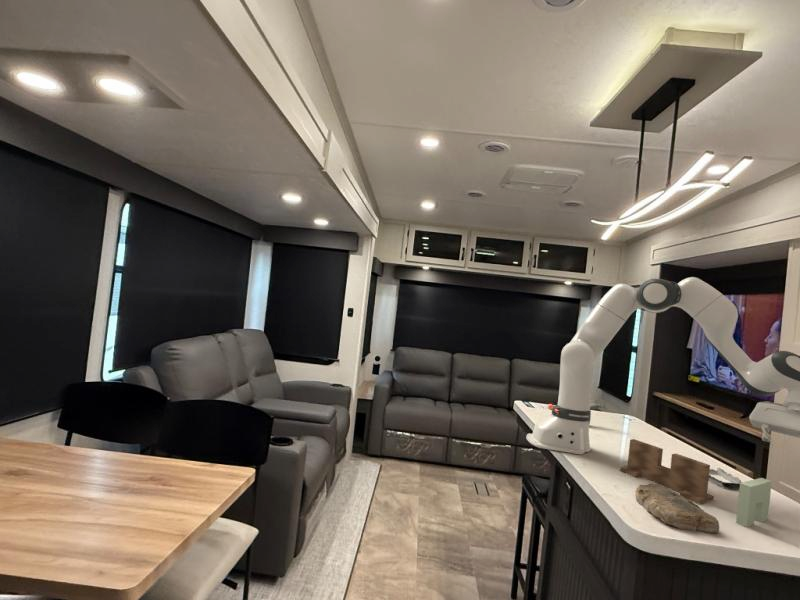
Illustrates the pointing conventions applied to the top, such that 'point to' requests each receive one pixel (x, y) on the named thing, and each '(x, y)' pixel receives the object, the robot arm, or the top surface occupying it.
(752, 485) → the green slotted plate
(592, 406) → the inkwell
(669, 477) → the walnut slotted board
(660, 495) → the brown rock
